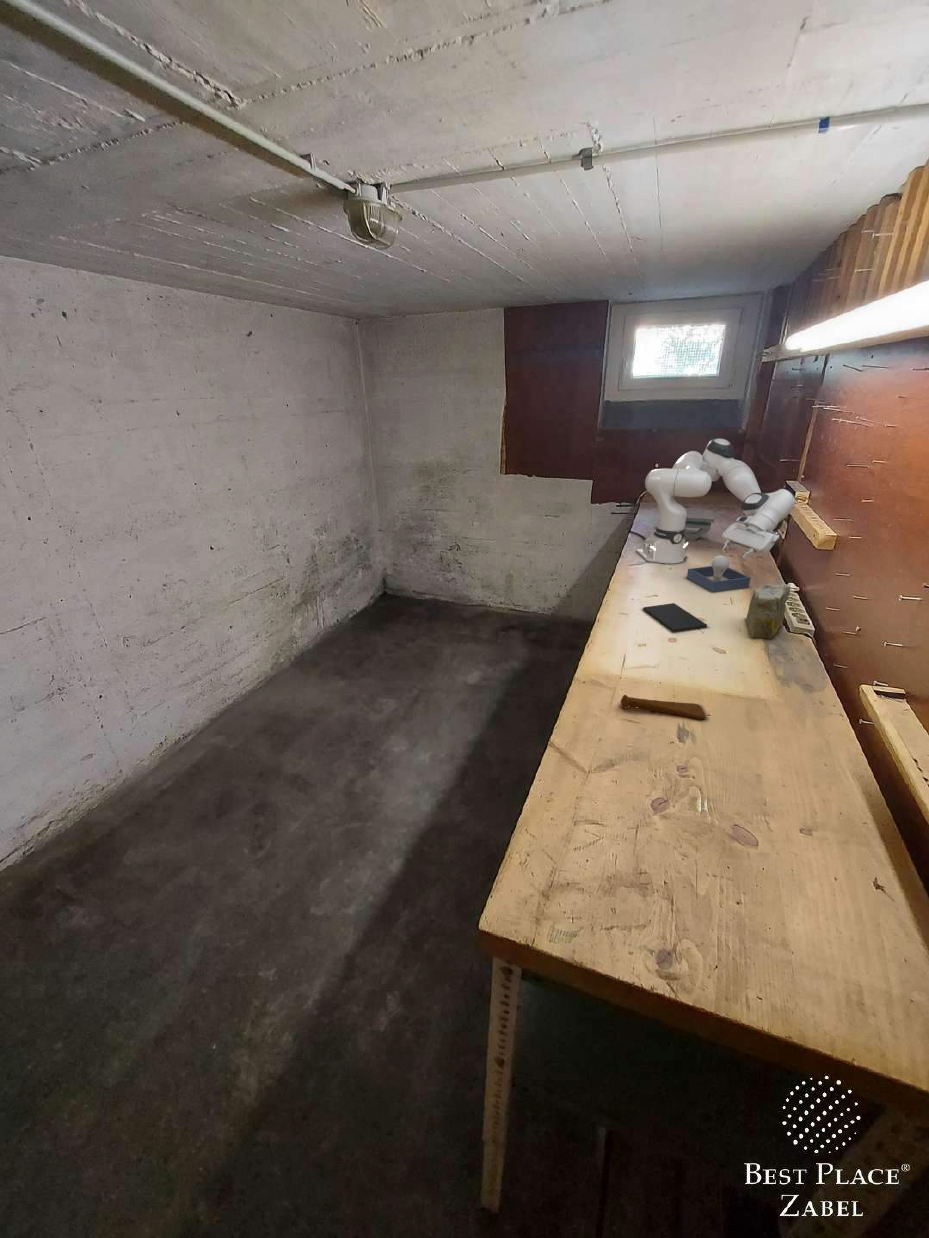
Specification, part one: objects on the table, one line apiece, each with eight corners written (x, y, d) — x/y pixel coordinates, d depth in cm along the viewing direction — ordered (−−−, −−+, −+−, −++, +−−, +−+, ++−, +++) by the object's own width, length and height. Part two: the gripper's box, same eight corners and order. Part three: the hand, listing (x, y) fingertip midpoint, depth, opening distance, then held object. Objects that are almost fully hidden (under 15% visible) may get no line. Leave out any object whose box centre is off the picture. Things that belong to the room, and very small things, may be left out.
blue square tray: (686, 578, 195) (688, 568, 193) (720, 573, 198) (722, 564, 196) (712, 592, 181) (714, 582, 179) (748, 587, 184) (750, 577, 182)
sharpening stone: (711, 537, 242) (715, 515, 238) (710, 541, 236) (714, 519, 231) (658, 532, 253) (661, 511, 249) (656, 536, 247) (659, 515, 242)
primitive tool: (699, 706, 119) (702, 694, 118) (706, 720, 114) (709, 708, 113) (619, 702, 122) (620, 691, 120) (622, 716, 117) (624, 704, 116)
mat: (642, 609, 170) (643, 607, 170) (673, 605, 172) (673, 603, 172) (673, 632, 154) (673, 629, 154) (706, 627, 156) (706, 624, 156)
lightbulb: (727, 585, 186) (732, 558, 181) (710, 585, 187) (715, 558, 182) (722, 580, 191) (728, 553, 187) (706, 579, 193) (711, 553, 188)
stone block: (749, 638, 149) (760, 593, 142) (745, 618, 161) (755, 576, 154) (787, 643, 145) (800, 597, 138) (781, 622, 157) (792, 579, 150)
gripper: (785, 539, 176) (758, 568, 178) (742, 525, 194) (717, 552, 196) (778, 528, 173) (750, 558, 175) (735, 516, 191) (710, 542, 193)
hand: (732, 554), depth 186 cm, fingers open, 8 cm apart
